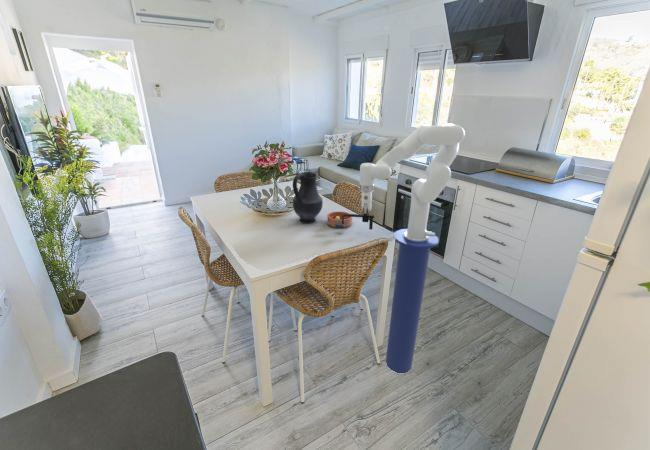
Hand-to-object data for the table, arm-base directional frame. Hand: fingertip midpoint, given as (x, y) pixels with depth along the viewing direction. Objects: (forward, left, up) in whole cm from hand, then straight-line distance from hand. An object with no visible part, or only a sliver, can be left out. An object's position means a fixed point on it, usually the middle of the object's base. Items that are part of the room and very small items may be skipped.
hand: (365, 221), depth 167 cm
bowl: (+16, -14, -8) cm, 23 cm away
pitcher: (+36, -13, -8) cm, 39 cm away
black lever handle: (+6, 0, -4) cm, 7 cm away
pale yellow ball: (+17, -16, -6) cm, 25 cm away
